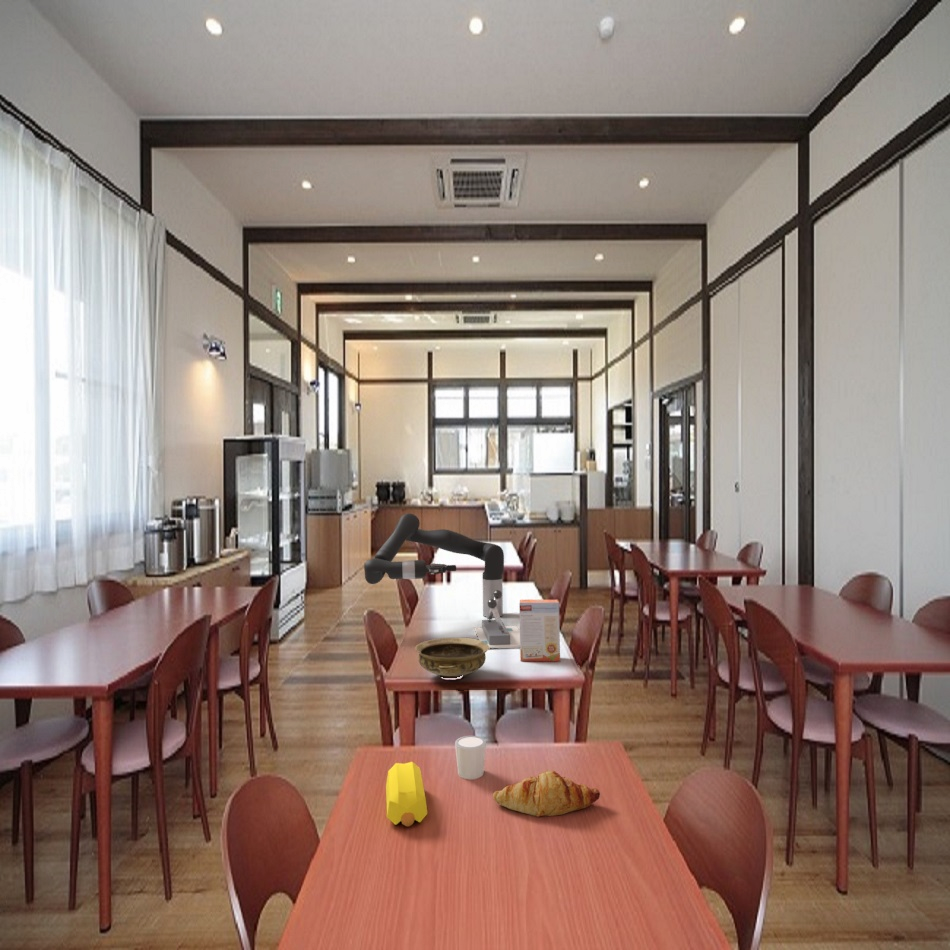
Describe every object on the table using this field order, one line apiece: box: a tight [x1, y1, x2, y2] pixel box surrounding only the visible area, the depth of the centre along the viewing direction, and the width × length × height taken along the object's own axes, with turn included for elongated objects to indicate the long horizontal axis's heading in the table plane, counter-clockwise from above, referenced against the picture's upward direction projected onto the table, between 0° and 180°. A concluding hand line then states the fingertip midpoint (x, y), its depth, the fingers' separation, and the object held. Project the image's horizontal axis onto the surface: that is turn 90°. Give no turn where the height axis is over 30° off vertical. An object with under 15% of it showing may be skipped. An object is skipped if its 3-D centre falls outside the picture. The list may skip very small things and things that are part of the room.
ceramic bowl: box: [414, 637, 490, 678], centre depth 204 cm, size 30×24×10 cm
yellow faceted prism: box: [385, 761, 429, 827], centre depth 125 cm, size 18×7×8 cm
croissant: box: [492, 769, 601, 818], centre depth 125 cm, size 21×10×8 cm, turn 89°
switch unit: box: [474, 619, 520, 650], centre depth 251 cm, size 30×18×4 cm, turn 6°
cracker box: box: [519, 599, 561, 662], centre depth 222 cm, size 14×6×21 cm, turn 84°
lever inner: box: [486, 590, 502, 622], centre depth 260 cm, size 4×4×13 cm
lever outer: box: [488, 599, 505, 633], centre depth 242 cm, size 4×4×13 cm
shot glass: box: [454, 735, 487, 780], centre depth 139 cm, size 7×7×7 cm
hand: (456, 567), depth 258 cm, fingers closed
